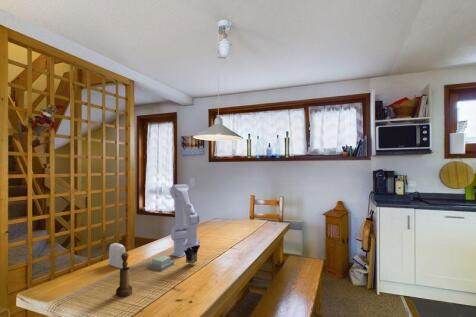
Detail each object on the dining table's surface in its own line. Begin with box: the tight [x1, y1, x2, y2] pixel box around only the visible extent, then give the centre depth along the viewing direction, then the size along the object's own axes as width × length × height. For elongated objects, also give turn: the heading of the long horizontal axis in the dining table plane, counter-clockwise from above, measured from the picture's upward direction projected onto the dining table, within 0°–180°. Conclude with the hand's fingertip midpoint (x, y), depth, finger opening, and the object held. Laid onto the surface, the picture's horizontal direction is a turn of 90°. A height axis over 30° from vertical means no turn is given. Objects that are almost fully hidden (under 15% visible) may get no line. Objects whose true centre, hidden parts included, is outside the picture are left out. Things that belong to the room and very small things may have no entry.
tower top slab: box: [151, 254, 172, 266], centre depth 146 cm, size 7×7×2 cm
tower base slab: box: [147, 260, 175, 272], centre depth 146 cm, size 10×10×2 cm
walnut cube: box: [185, 252, 198, 265], centre depth 149 cm, size 4×4×4 cm
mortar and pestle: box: [115, 252, 133, 298], centre depth 115 cm, size 7×6×18 cm
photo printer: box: [108, 242, 126, 269], centre depth 145 cm, size 10×4×12 cm, turn 60°
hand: (191, 259), depth 149 cm, fingers closed on walnut cube, 4 cm apart
